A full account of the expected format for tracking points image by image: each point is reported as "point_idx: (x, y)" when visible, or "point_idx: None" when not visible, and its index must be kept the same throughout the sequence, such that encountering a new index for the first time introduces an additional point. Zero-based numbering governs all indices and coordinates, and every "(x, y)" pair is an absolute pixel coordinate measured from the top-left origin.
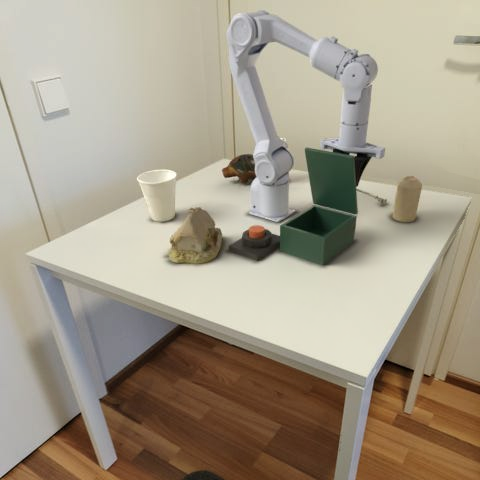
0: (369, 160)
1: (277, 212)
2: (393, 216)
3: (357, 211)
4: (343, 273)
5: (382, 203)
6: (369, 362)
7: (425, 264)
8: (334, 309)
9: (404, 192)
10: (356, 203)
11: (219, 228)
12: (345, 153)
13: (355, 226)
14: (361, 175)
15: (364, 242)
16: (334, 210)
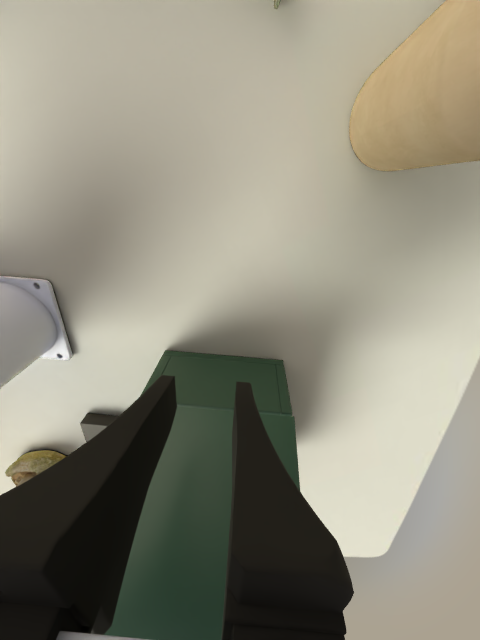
0: (316, 521)
1: (42, 354)
2: (358, 154)
3: (294, 424)
4: (307, 456)
5: (278, 5)
6: (385, 549)
7: (460, 382)
8: (325, 512)
9: (468, 159)
10: (297, 465)
11: (38, 471)
12: (83, 590)
13: (287, 388)
14: (261, 420)
15: (308, 353)
16: (216, 409)
